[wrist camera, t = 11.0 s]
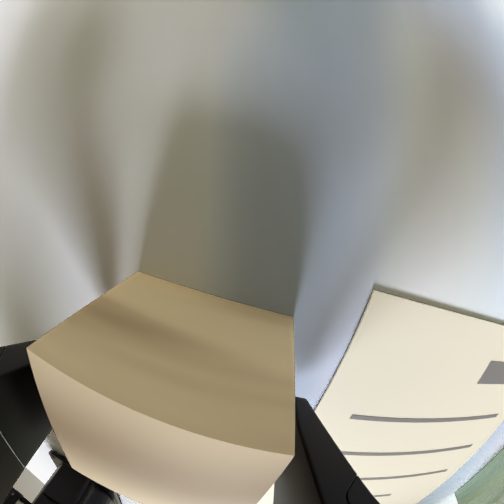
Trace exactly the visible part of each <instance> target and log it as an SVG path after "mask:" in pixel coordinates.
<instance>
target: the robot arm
mask: <svg viewBox="0 0 504 504" xmlns="http://www.w3.org/2000/svg"><path fill="white" fill-rule="evenodd" d="M35 341H36V340H34V341H29V342H24V343H19V344H13V345H8V346H6V347H5V346H3V347H0V504H121V502H120V500H119V497H118V495H117V493H116V492H114V491H112V490H110V489H108V488H106V487H104V486H102V485H101V484H99V483H97V482H95V481H93V480H91V479H90V478H88V477H86V476H84V475H83V474H81V473H79V472H78V471H76V470H74V469H73V468H72V467H71V465H70V463H69V461H68V460H66V459H65V458H63V457H61V456H60V455H59V454H57V453H56V452H54V451H53V450H51V451H50V452H49V455H50V456H51V458H52V460H53V462H54V463H55V465H56V467H57V469H56V470H55V472H54V473H53V474H52V476H51V477H50V479H49V480H48V481H47V483H46V484H45V486H44V487H43V488H42V490H41V491H40V493H39V494H38V495H37V497H36V498H35V500H34V501H33V502H32V503H30V502H29V501H28V500H27V499H25V498H24V497H23V495H22V494H21V493H20V492H18V491H17V490H15V489H14V488H13V485H14V484H15V482H16V481H17V479H18V478H19V476H20V475H21V473H22V472H23V470H24V467H26V465H27V464H28V463H29V461H30V460H31V458H32V457H33V455H34V454H35V452H36V451H37V450H38V448H39V447H40V445H41V444H42V442H43V441H44V440H45V438H46V437H47V435H48V434H49V433H50V431H51V430H52V429H53V428H52V425H51V423H50V420H49V418H48V416H47V413H46V410H45V408H44V405H43V402H42V400H41V397H40V394H39V391H38V388H37V385H36V382H35V378H34V375H33V372H32V368H31V364H30V361H29V357H28V353H27V349H26V348H27V347H28V346H30V345H31V344H32V343H34V342H35ZM273 504H380V503H379V502H378V501H377V499H376V498H375V497H374V496H373V495H372V494H371V492H370V491H369V490H368V488H367V487H366V486H365V485H364V483H363V482H362V480H361V479H360V478H359V476H357V473H356V472H355V471H354V469H353V468H352V466H351V465H350V463H349V462H348V461H347V459H346V458H345V456H344V455H343V453H342V452H341V450H340V449H339V447H338V446H337V445H336V443H335V442H334V440H333V439H332V437H331V436H330V434H329V433H328V431H327V430H326V428H325V427H324V425H323V424H322V422H321V421H320V419H319V418H318V416H317V415H316V413H315V412H314V410H313V409H312V407H311V406H310V404H309V403H308V401H307V400H306V399H305V398H300V397H295V456H294V457H293V459H292V460H291V462H290V463H289V464H288V466H287V467H286V468H285V470H284V471H283V472H282V474H281V475H280V476H279V477H278V479H277V480H276V481H275V483H274V498H273Z"/></svg>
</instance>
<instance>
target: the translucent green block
mask: <svg viewBox="0 0 504 504" xmlns="http://www.w3.org/2000/svg"><path fill="white" fill-rule="evenodd" d="M454 493H455V496H456V499H457V502H458V504H504V448H503V449H502V450H501V451H500V452H499V453H498V454H497V455H496V456H495V457H494V458H493V459H492V460H491V461H490V462H489V463H488V464H487V465H486V466H485V467H484V468H483V469H482V470H480V471H479V472H478V473H477V474H476V475H475V476H474V477H473V478H471V479H470V480H469V481H468V482H467V483H466V484H464V485H463V486H462V487H461V488H460V489H458V490H457V491H456V492H454Z"/></svg>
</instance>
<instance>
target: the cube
mask: <svg viewBox="0 0 504 504" xmlns="http://www.w3.org/2000/svg"><path fill="white" fill-rule="evenodd" d="M26 349H27V353H28V357H29V361H30V364H31V368H32V372H33V375H34V378H35V382H36V385H37V388H38V391H39V394H40V397H41V400H42V402H43V405H44V408H45V410H46V413H47V416H48V418H49V420H50V423H51V425H52V428H53V430H54V432H55V435H56V437H57V439H58V441H59V443H60V445H61V447H62V449H63V451H64V453H65V455H66V457H67V459H68V461H69V463H70V465H71V467H72V468H73V469H74V470H76V471H78V472H79V473H81V474H83V475H84V476H86V477H88V478H90V479H91V480H93V481H95V482H97V483H99V484H101V485H102V486H104V487H106V488H108V489H110V490H112V491H114V492H116V493H119V494H121V495H123V496H125V497H127V498H129V499H132V500H134V501H136V502H139V503H141V504H257V503H258V502H259V501H260V500H261V498H262V497H263V496H264V495H265V494H266V492H267V491H268V490H269V489H270V488H271V486H272V485H273V484H274V483H275V481H276V480H277V479H278V477H279V476H280V475H281V474H282V472H283V471H284V470H285V468H286V467H287V466H288V464H289V463H290V462H291V460H292V459H293V457H294V456H295V353H294V318H293V317H291V316H287V315H283V314H279V313H275V312H272V311H268V310H264V309H260V308H257V307H253V306H249V305H246V304H242V303H239V302H235V301H231V300H228V299H224V298H221V297H218V296H214V295H211V294H207V293H204V292H201V291H197V290H194V289H191V288H188V287H184V286H181V285H178V284H175V283H172V282H168V281H165V280H162V279H159V278H156V277H153V276H150V275H147V274H144V273H141V272H137V273H135V274H134V275H132V276H130V277H129V278H127V279H126V280H124V281H123V282H121V283H120V284H118V285H116V286H115V287H113V288H112V289H110V290H109V291H107V292H106V293H104V294H103V295H101V296H100V297H98V298H97V299H95V300H94V301H92V302H91V303H89V304H88V305H86V306H85V307H83V308H82V309H80V310H79V311H78V312H76V313H75V314H73V315H72V316H70V317H69V318H67V319H66V320H65V321H63V322H62V323H60V324H59V325H57V326H56V327H55V328H53V329H52V330H50V331H49V332H48V333H46V334H45V335H43V336H42V337H41V338H39V339H38V340H36V341H35V342H34V343H32V344H31V345H30V346H28V347H27V348H26Z"/></svg>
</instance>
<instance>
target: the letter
mask: <svg viewBox="0 0 504 504" xmlns="http://www.w3.org/2000/svg"><path fill="white" fill-rule="evenodd" d="M314 412H315V413H316V415H317V416H318V418H319V419H320V421H321V422H322V424H323V425H324V427H325V428H326V430H327V431H328V433H329V434H330V436H331V437H332V439H333V440H334V442H335V443H336V445H337V446H338V447H339V449H340V450H341V452H342V453H343V455H344V456H345V458H346V459H347V461H348V462H349V463H350V465H351V466H352V468H353V469H354V471H355V472H356V473H357V476H359V478H360V479H361V480H362V482H363V483H364V485H365V486H366V487H367V488H368V490H369V491H370V492H371V494H372V495H373V496H374V497H375V498H376V499H377V501H378V502H379V503H380V504H417V503H418V502H419V501H421V500H422V499H423V498H425V497H426V496H427V495H429V494H430V493H431V492H433V491H434V490H435V489H436V488H438V487H439V486H440V485H441V484H442V483H444V482H445V481H446V480H447V479H448V478H449V477H450V476H452V475H453V474H454V473H455V472H456V471H457V470H458V469H459V468H460V467H461V466H462V465H464V464H465V463H466V462H467V461H468V460H469V459H470V458H471V457H472V456H473V455H474V454H475V453H476V451H477V450H478V449H479V448H480V447H481V446H482V445H483V444H484V443H485V442H486V441H487V440H488V438H489V437H490V436H491V435H492V434H493V433H494V432H495V430H496V429H497V428H498V427H499V425H500V424H501V423H502V422H503V421H504V325H501V324H497V323H494V322H490V321H486V320H482V319H479V318H475V317H471V316H468V315H464V314H460V313H457V312H453V311H449V310H446V309H442V308H438V307H434V306H431V305H427V304H423V303H420V302H416V301H413V300H409V299H405V298H402V297H398V296H394V295H391V294H387V293H383V292H380V291H376V290H373V292H372V295H371V297H370V300H369V302H368V304H367V307H366V309H365V312H364V314H363V316H362V318H361V321H360V323H359V325H358V327H357V330H356V332H355V334H354V336H353V338H352V340H351V343H350V345H349V347H348V349H347V351H346V353H345V355H344V357H343V359H342V361H341V363H340V365H339V367H338V369H337V371H336V373H335V374H334V376H333V378H332V380H331V382H330V384H329V386H328V387H327V389H326V391H325V393H324V395H323V396H322V398H321V400H320V402H319V403H318V405H317V407H316V408H315V410H314ZM273 498H274V484H273V485H272V486H271V488H270V489H269V490H268V491H267V492H266V494H265V495H264V496H263V497H262V498H261V500H260V501H259V502H258V503H257V504H273Z"/></svg>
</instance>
